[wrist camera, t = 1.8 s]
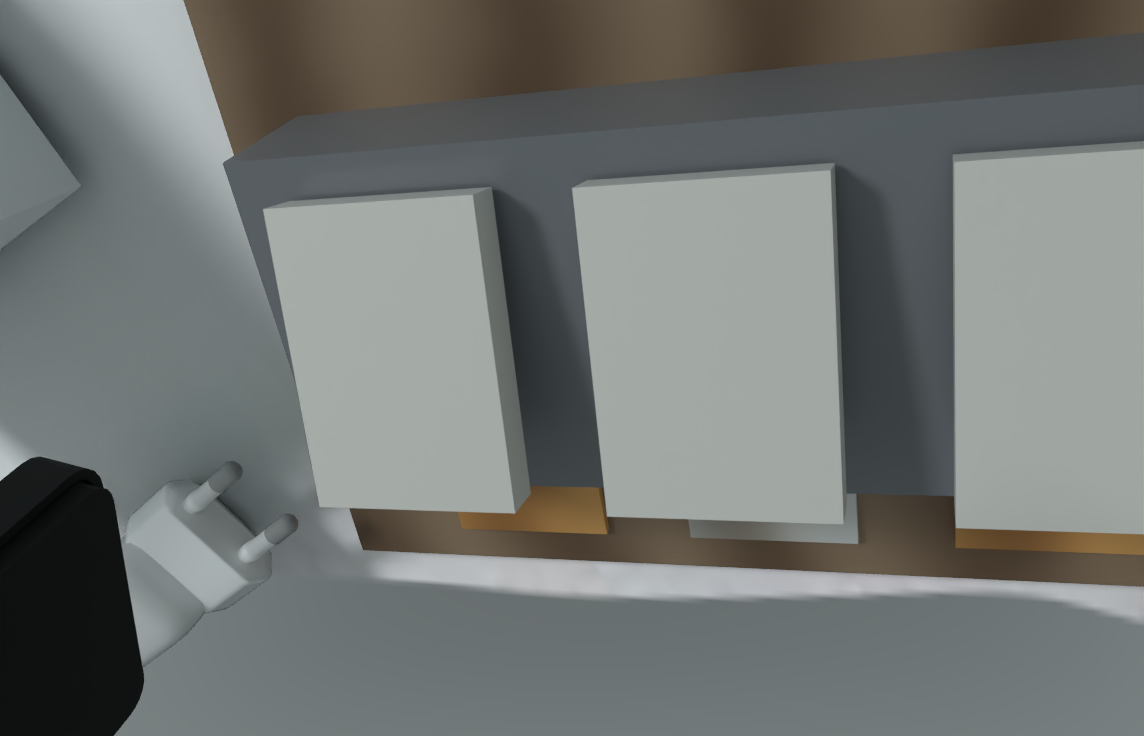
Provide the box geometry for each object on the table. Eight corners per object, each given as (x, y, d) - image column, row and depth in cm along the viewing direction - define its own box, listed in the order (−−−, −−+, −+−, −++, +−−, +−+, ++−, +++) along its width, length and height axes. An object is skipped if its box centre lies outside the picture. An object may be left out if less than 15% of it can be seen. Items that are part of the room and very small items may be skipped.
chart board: (1471, -217, 21) (1501, -214, 20) (1311, 571, 30) (1325, 602, 29) (198, -24, 31) (171, -15, 29) (374, 532, 40) (359, 555, 39)
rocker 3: (1261, 132, 21) (1281, 139, 19) (1232, 512, 23) (1248, 537, 22) (952, 154, 22) (954, 162, 21) (954, 505, 25) (955, 527, 24)
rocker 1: (491, 187, 26) (472, 194, 24) (530, 493, 28) (515, 513, 27) (289, 201, 27) (263, 209, 26) (341, 488, 30) (319, 507, 29)
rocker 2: (834, 162, 23) (830, 170, 22) (847, 502, 25) (843, 524, 24) (587, 180, 25) (572, 187, 24) (619, 496, 27) (606, 516, 26)
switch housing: (1307, 16, 23) (1387, 75, 19) (1247, 411, 28) (1301, 523, 24) (297, 116, 31) (208, 172, 27) (383, 410, 35) (317, 494, 32)
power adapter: (262, 390, 38) (167, 487, 33) (360, 484, 39) (281, 592, 34) (115, 523, 44) (16, 623, 39) (204, 602, 45) (117, 708, 40)
